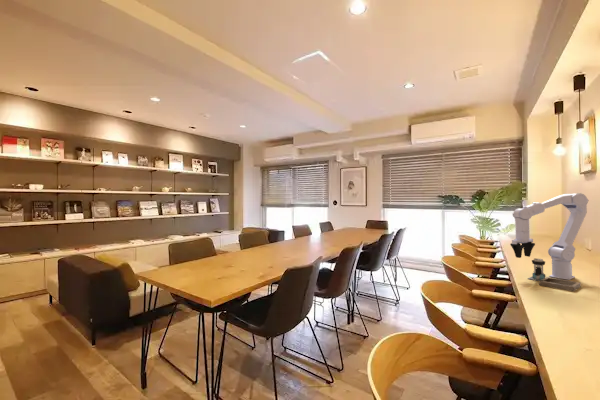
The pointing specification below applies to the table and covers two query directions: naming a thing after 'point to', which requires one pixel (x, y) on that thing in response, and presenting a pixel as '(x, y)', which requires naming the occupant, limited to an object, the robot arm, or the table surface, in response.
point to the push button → (538, 269)
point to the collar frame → (560, 284)
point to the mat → (533, 279)
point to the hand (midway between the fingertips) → (522, 256)
